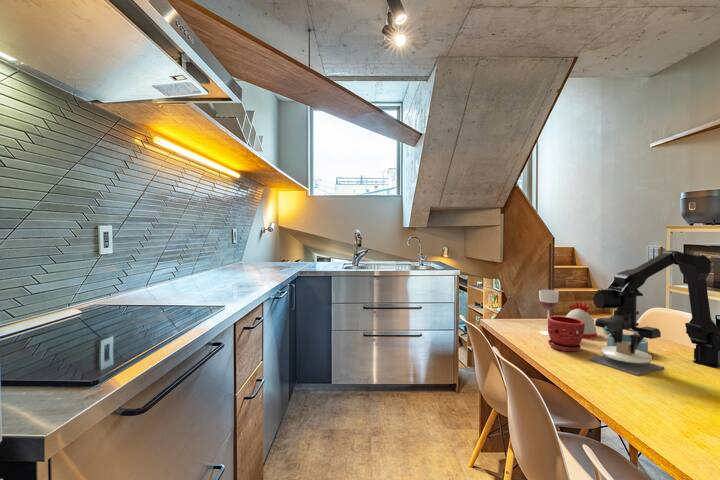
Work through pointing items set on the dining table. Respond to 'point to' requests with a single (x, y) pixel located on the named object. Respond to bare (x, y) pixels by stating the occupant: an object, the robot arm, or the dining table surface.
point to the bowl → (641, 347)
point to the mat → (627, 365)
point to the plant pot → (565, 333)
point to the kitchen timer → (582, 315)
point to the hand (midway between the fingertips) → (625, 351)
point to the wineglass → (548, 302)
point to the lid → (626, 353)
